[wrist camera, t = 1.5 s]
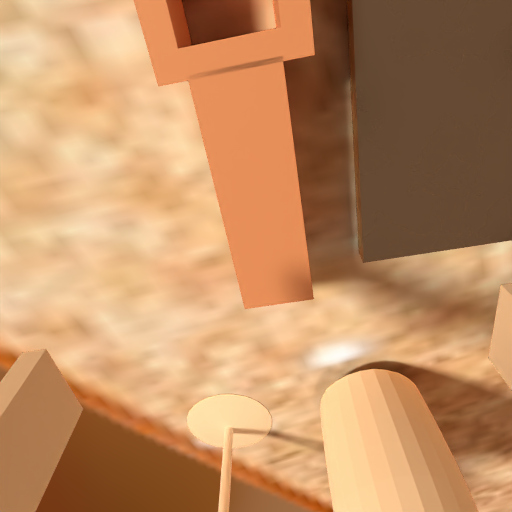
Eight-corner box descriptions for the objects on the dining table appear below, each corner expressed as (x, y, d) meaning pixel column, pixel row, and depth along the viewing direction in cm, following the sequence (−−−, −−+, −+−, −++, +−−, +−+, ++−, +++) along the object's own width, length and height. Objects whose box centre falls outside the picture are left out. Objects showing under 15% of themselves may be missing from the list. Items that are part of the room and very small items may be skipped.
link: (131, -92, 16) (97, -126, 13) (285, -130, 16) (294, -176, 12) (227, 274, 26) (223, 312, 22) (325, 259, 25) (336, 295, 22)
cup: (314, 356, 30) (357, 585, 17) (424, 350, 29) (545, 579, 17) (313, 425, 34) (347, 648, 22) (409, 421, 34) (497, 644, 21)
